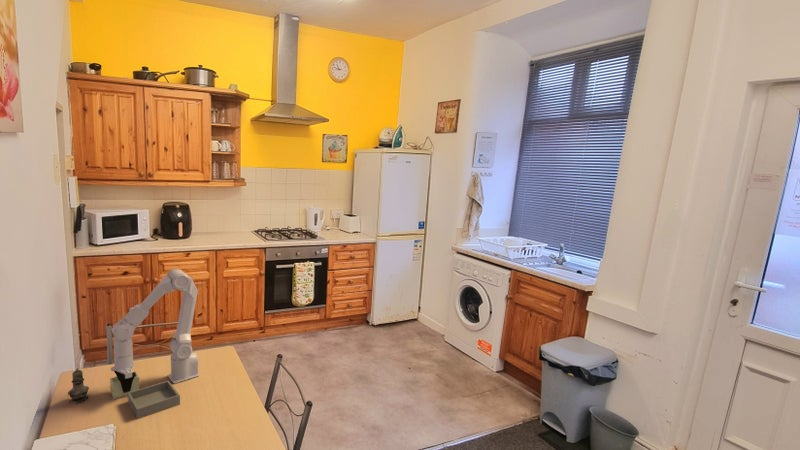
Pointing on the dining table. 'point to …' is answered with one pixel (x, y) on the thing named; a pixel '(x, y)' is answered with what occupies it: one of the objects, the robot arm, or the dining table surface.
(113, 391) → the small crate
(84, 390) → the dark ornate statuette
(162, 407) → the big crate
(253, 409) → the dining table surface
